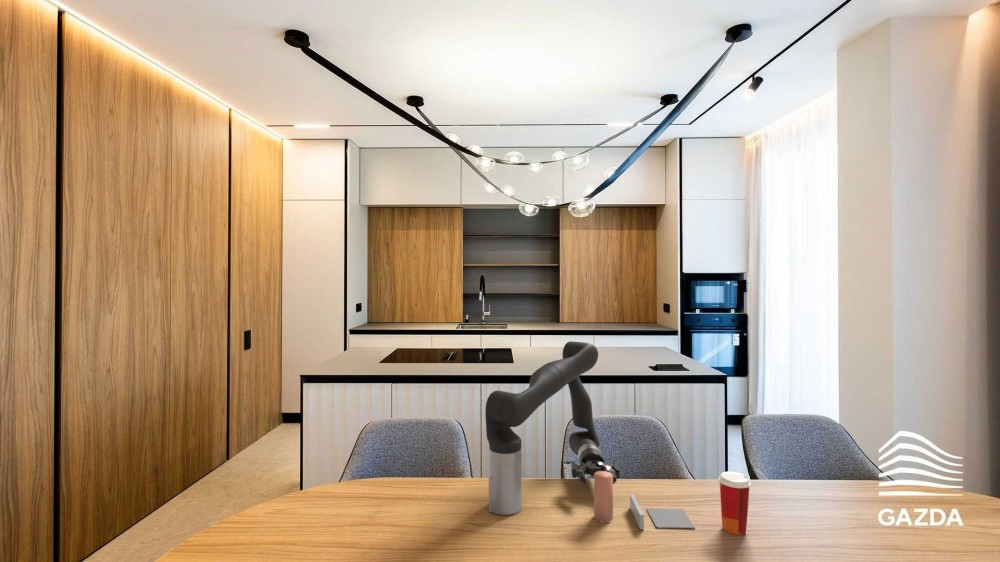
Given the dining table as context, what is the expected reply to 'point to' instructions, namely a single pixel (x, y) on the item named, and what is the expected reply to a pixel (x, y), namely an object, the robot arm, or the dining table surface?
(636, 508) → the acrylic wall
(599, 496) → the salmon pink cylinder
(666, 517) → the resting mat
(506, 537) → the dining table surface
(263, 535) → the dining table surface
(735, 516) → the paper cup
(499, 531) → the dining table surface
